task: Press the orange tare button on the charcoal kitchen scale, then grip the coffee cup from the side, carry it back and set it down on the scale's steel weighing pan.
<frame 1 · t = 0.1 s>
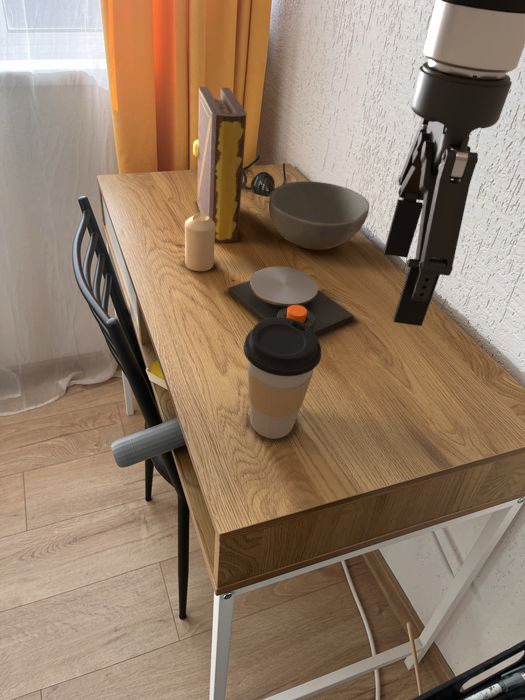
hand: (400, 285, 57), 24 cm above the table, tool pointing down, fingers open, 13 cm apart
book: (216, 218, 118), on the table
candle: (199, 265, 102), on the table
scale: (289, 306, 93), on the table
bowl: (311, 243, 113), on the table
scale pan: (281, 301, 95), resting on scale
coffee cup: (271, 423, 72), on the table
tare button: (296, 314, 86), point 3 cm above the table, slide at 0.1 cm
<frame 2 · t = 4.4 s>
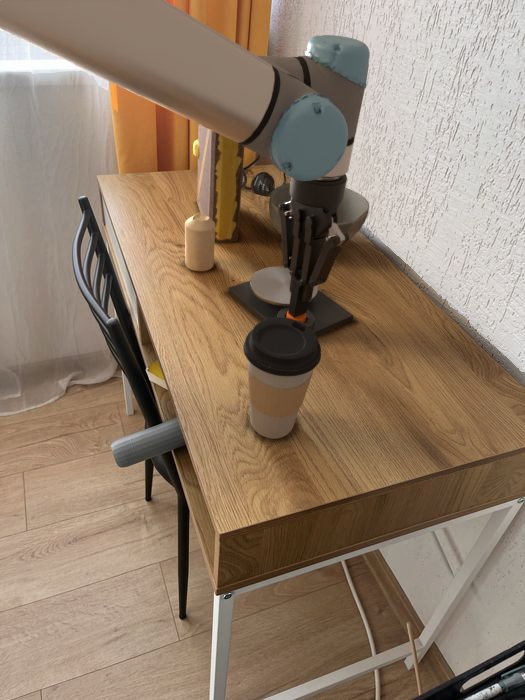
hand: (297, 312, 86), 4 cm above the table, tool pointing down, fingers closed
tare button: (295, 318, 86), point 3 cm above the table, slide at -0.6 cm, touching gripper
everything else where it was.
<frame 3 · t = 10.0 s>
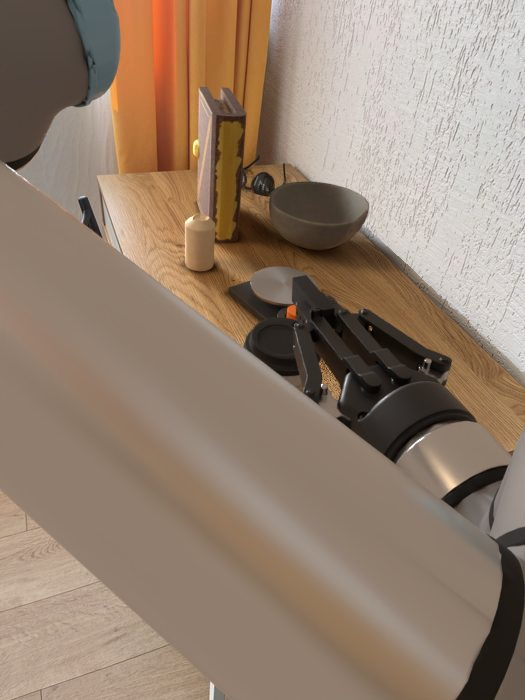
hand: (299, 288, 53), 25 cm above the table, tool horizontal, fingers closed
tare button: (296, 314, 86), point 3 cm above the table, slide at 0.1 cm
everything else where it was.
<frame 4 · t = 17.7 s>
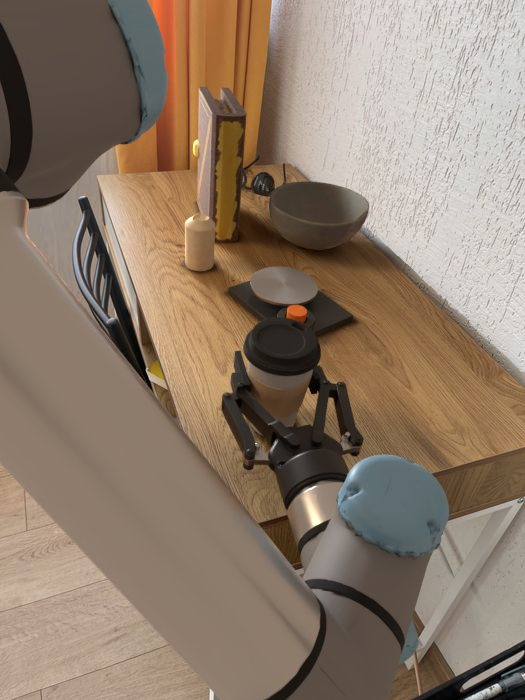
hand: (269, 356, 70), 8 cm above the table, tool horizontal, fingers closed on coffee cup, 8 cm apart
coffee cup: (271, 423, 72), on the table, touching gripper
everything else where it was.
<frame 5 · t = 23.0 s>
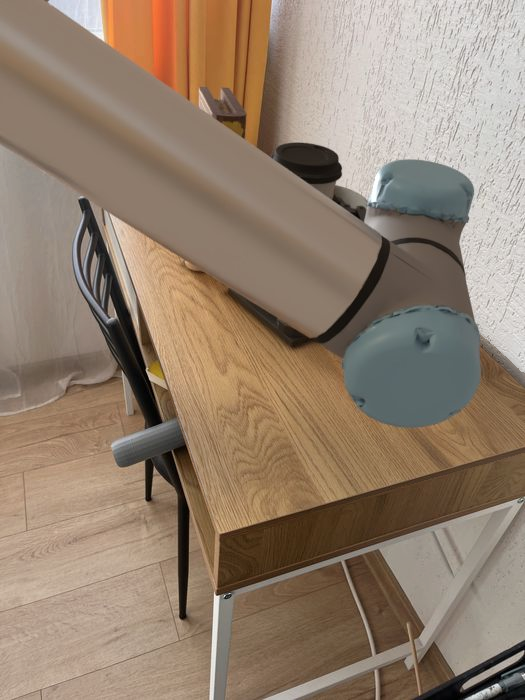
hand: (291, 191, 73), 24 cm above the table, tool horizontal, fingers closed on coffee cup, 8 cm apart
coffee cup: (291, 260, 75), point 16 cm above the table, touching gripper
everything else where it was.
when the fingers open (12 cm above the table, at t = 28.5 s): coffee cup stays where it is, resting on scale pan.
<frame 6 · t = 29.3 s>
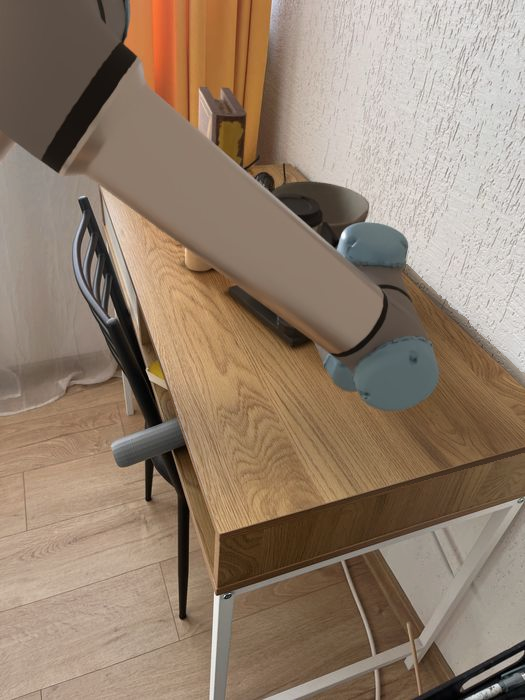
hand: (285, 229, 89), 12 cm above the table, tool horizontal, fingers open, 13 cm apart
coffee cup: (283, 285, 92), point 3 cm above the table, touching scale pan
everything else where it was.
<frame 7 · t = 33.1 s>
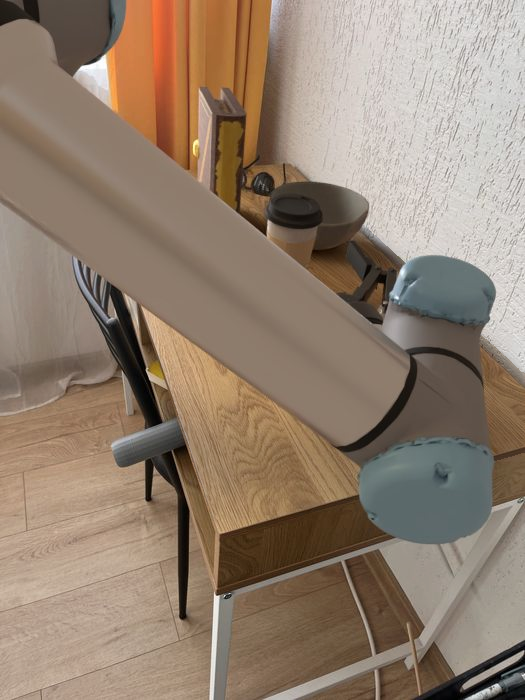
hand: (304, 250, 72), 18 cm above the table, tool horizontal, fingers open, 13 cm apart
nothing on the table moved.
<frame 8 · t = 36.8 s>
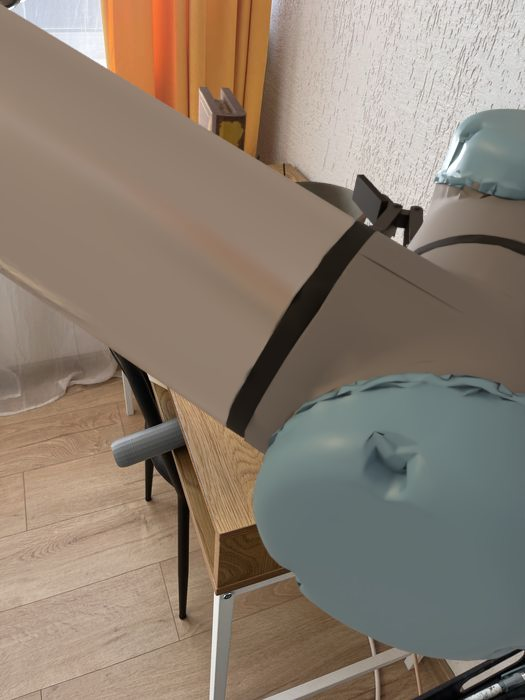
hand: (295, 186, 54), 32 cm above the table, tool horizontal, fingers open, 13 cm apart
nothing on the table moved.
at the end: tare button pushed in 1.0 cm at the most during the clip, back to where it started at the end; coffee cup 0.0 cm off-centre on the scale pan, point 3.4 cm above the scale pan's base; coffee cup tilted 0° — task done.
